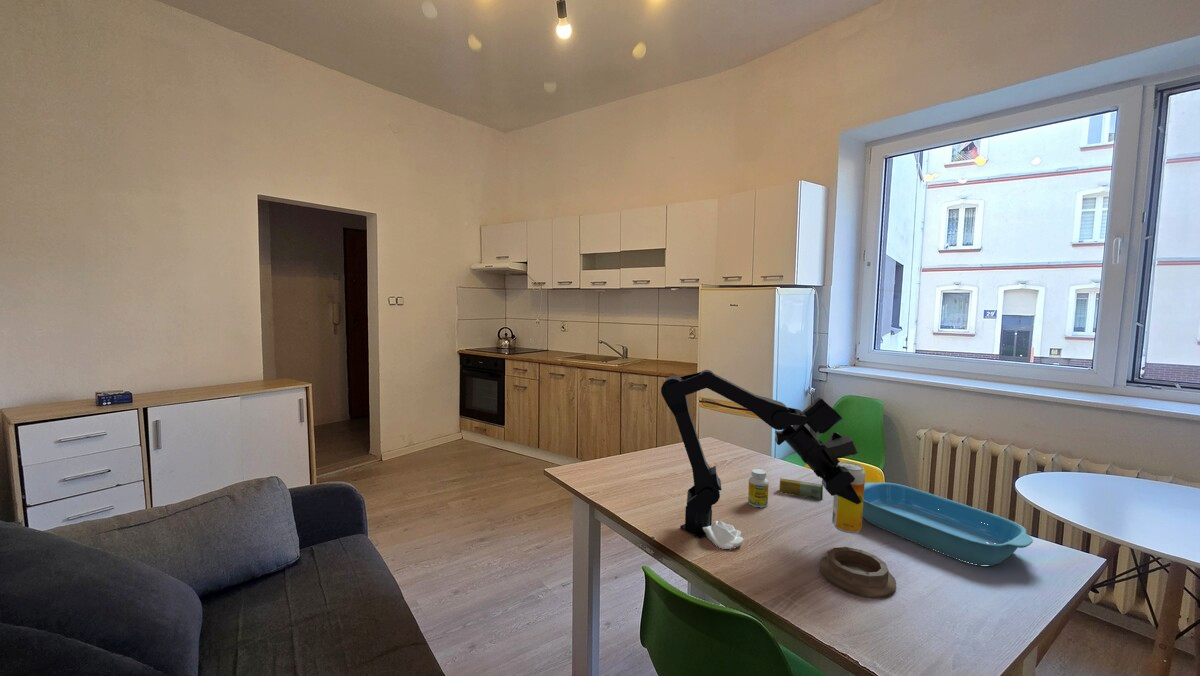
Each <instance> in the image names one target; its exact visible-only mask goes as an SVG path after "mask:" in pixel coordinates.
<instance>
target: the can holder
mask: <svg viewBox="0 0 1200 676" xmlns="http://www.w3.org/2000/svg"><path fill="white" fill-rule="evenodd" d="M818 564H819V565H818V570H819V573H820V575H821V576H822V578H824V580H826V581H827V582H828V583H829V584H831V585H833V586H835V587H836V588H838V589H839V590H842V591H844V592H846V593H848V594H852V595H855V596H859V597H862V598H863V597H864V598H869V599H870V598H871V599H884V598H889V597H891V596H893V595H894V594H895V593H896V590H897V580H896V579H895V577H894V576H893V574H892V573H891V572H890V571H889V568H888V565H887V563H886V561H883V560H882V559H881V558H880V557H878V556H877V555H876V554H873V553H871V552H868V551H865V550H863V549H858V548H855V547H854V548H853V547H847V546H843V547H842V546H841V547H833V548H831V549H830V550H828V551H827V555H825V556H823V557H822V558H821V559H820V560H819V563H818Z"/></svg>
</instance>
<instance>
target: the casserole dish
mask: <svg viewBox="0 0 1200 676" xmlns="http://www.w3.org/2000/svg"><path fill="white" fill-rule="evenodd" d="M938 509H939V510H938ZM862 518H864V519H865V520H866V521H867V522H869V523H870V524H872V525H874V526H875V527H878V528H880V529H882V530H885V531H886V532H887V531H888V532H889V533H891V534H893V535H896V536H898V537H901V538H903V539H906V540H908V541H911V542H915V543H916V544H918V545H920V546H922V545H923V547H925V546H926V548H927V547H928V548H927V549H930V548H931V549H930V550H932V549H934V550H933V551H935V550H936V551H935V552H937V551H939V552H938V553H940V552H941V553H940V554H942V553H944V554H943V555H945V554H946V555H945V556H947V555H949V556H948V557H950V556H951V557H950V558H952V557H954V558H953V559H955V558H957V559H956V560H958V559H960V560H963V561H966V562H969V563H973V564H977V565H992V566H995V565H998V564H1000V563H1001V562H1003V561H1005V560H1006V559H1008V558H1009V557H1010V556H1011V555H1012V554H1014V553H1015V552H1016V550H1017V549H1018V548H1019V549H1023V548H1027V547H1028V546H1030V545H1031V544H1032V543H1033V542H1034V540H1033V538H1032V537H1031V535H1029V534H1028V533H1027V530H1026V527H1024V526H1023V525H1021V524H1019V523H1017V522H1015V521H1014V520H1011V519H1008V518H1005V517H1003V516H1000V515H997V514H996V513H995V514H994V513H991V512H989V511H985V510H982V509H979V508H976V507H973V506H970V505H966V504H964V503H960V502H958V501H955V500H951V499H949V498H945V497H943V496H940V495H936V494H933V493H930V492H927V491H924V490H921V489H917V488H914V487H911V486H907V485H904V484H901V483H900V484H899V483H894V482H893V483H892V482H865V486H864V500H863V515H862ZM981 522H982V523H981ZM984 523H985V524H984ZM987 524H988V525H987ZM986 542H988V543H989V544H987V543H986ZM994 543H996V544H994ZM960 560H959V561H960ZM963 561H962V562H963ZM966 562H965V563H966ZM969 563H968V564H969Z"/></svg>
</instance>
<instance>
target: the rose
mask: <svg viewBox="0 0 1200 676" xmlns="http://www.w3.org/2000/svg"><path fill="white" fill-rule="evenodd" d="M702 529H703V530H704V532H705V533H706V535H705V537H707V538H708V540H709V541H710V542H711V541H712V542H713V543H714V544H715V545H716V546H715V545H714V544H713V543H712V542H711V543H712V544H713V545H714V546H715V547H717V546H718V547H719V549H720V548H722V549H721V550H723V549H730V550H732V549H731V548H734V547H737V548H739V547H738V546H740V545H742V544H743V542H744V538H743V537H742V536H741V534H742V531H740V530H738V529H735V527H734V525H732V524H728V523H726V522H723V520H715V522H714V523H713V524H711V526H708V527H703V528H702ZM718 547H717V548H718ZM734 549H735V548H734Z"/></svg>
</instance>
